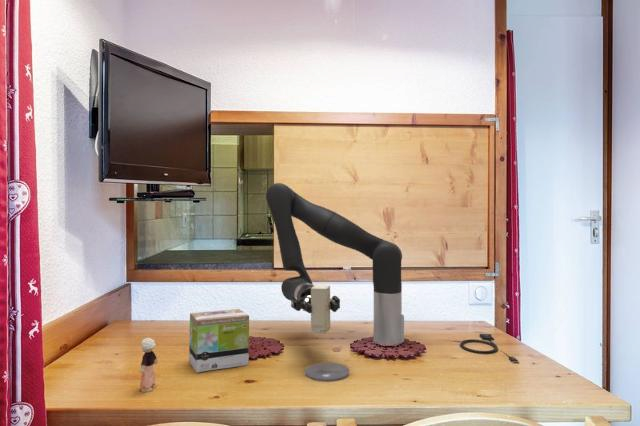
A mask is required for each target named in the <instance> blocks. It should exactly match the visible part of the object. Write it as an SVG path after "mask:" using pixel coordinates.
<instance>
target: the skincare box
mask: <svg viewBox="0 0 640 426" xmlns="http://www.w3.org/2000/svg"><path fill="white" fill-rule="evenodd" d="M330 299H331V285H330V284H329V285H327V284H326V285H325V284H315V285H314V286H313V287H312V288H311V305H312V313H310V333H312V334H327V333H328V332H329V331H330V330H331V309H330Z"/></svg>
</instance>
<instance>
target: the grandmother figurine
mask: <svg viewBox="0 0 640 426" xmlns="http://www.w3.org/2000/svg"><path fill="white" fill-rule="evenodd" d="M156 345H157V344H156V343H155V340H154V339H153V338H150V337H146V338H143V339H142V340H141V349H142V352H143V353H144V354H143V356H142V361H141V363H140V369H139V372H140V374H141V375H140V378H139V379H140V380H139V388H141V389H140V391H141V392H142V393H149V392H152V391H153V389H155V388H157V384H156V374H155V373H156V372H155V368H154V365H157V364H158V359H157V356H156V354H155V352H154V348H156Z"/></svg>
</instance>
